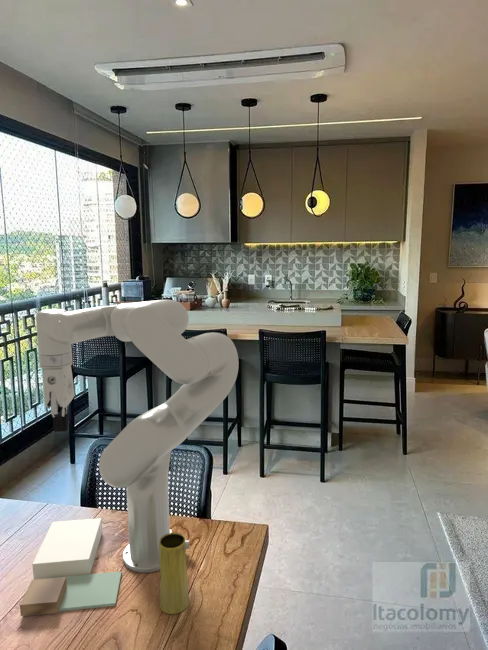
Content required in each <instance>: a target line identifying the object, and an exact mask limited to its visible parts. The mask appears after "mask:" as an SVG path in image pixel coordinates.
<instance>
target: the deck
mask: <svg viewBox="0 0 488 650" xmlns="http://www.w3.org/2000/svg"><path fill="white" fill-rule="evenodd" d="M102 522H103V521H102V518H101V517H98V518H97V517H96V518H86V519H85V518H84V519H72V520H71V519H70V520H60V521H52V522H51V523H50V527H49V529H48V531H47V533H46V535H45V536H44V540H43V541H42V543H41V545H40V547H39V549H38V551H37V554H36V556H35V558H34V560H33V562H32V565H31V566H32V575H33V580H37V579H47V578H55V577H66V576H76V575H87V574H92V570H93V566H94V562H95V559H96V555H97V552H98V549H99V545H100V542H101V537H102V535H103V523H102Z"/></svg>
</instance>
